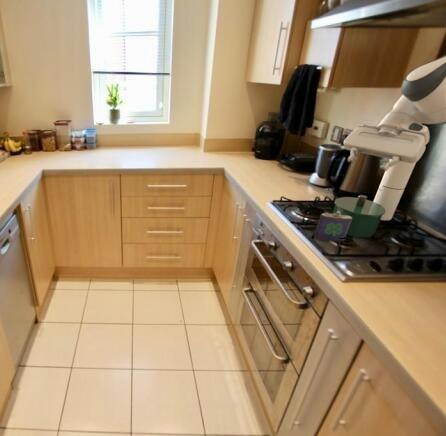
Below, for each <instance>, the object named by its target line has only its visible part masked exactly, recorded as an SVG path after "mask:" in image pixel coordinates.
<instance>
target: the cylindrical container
mask: <svg viewBox="0 0 446 436" xmlns="http://www.w3.org/2000/svg"><path fill="white" fill-rule="evenodd" d="M391 160H392V159H389V161H391ZM416 163H417V162H415V163H406V162H402V161H400V162H399V163H398V164H396V165H394V166H392V167H390V168H389V169H388V170H387V171H384V173H383V176H382V179H381V181H380V184H379V186H378V189H377V192H376V194H375V196H374V199H373V201H372V202H375V203H377V204H379V205H381V206H382V207H384V208H385V213H384V214H383V215H382V217H381V219H380V221H390V220H392V218H393V216H394V215H395V212H396V209H397V207H398V206H399V203H400V200H401V198H402V196H403V194H404V191H405V188H406V187H407V184H408V182H409V179H410V177H411V175H412V173H413V170H414V168H415V166H416Z"/></svg>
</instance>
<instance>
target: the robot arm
mask: <svg viewBox="0 0 446 436" xmlns="http://www.w3.org/2000/svg"><path fill="white" fill-rule="evenodd" d="M400 93H401V94H402V95H400V97H399V98H398V100H396V102H395V103H394V105H393V107H392V109H391V110H390V111H389V112H387V114H385V115H384V117H383V118H382V119H381V120H380V122H379V123H378V125H376V126H375V125H368V124H362V125H359V126H356V127H354V129H353V130H352V132H350V133H349V134H348V135H347V136H346V138H345V139H344V140H343V143H342V144H343V147H344V149H345V150H347V151H350V154H349V156H348V157H347V162H348V163H351V164H354V163H355V162H356V160H357V154H358V153H360V154H366V155H370V156H374V157H379V158H384V159H388V160H389V161H388V162H383V163H382V164H381V165H380V170H381V171H384V172H385V171H387V170H388V169H389V168H390V167H392V166H394V165H396V164H398V163H399V162H400V161H402V162H406V163H415V162H416V163H417V162H418V161H419V160H420V159H421V158H422V156H423V155H424V153H425V151H426V149H427V148H426V145H427V144H428V143H429V142H430V130H429V127H428V126H426V125H445V124H446V54H444V55H442V56H439V57H438V58H435V59H433V60H430V61H428V62H426V63H424V64H422V65H419V66H417V67H416V68H415V69H413V70H411V71H410V72H409V73H408V74H406V76H405V78H404V80H403V82H402V84H401V89H400ZM423 124H424V125H423ZM390 159H392V160H391V161H390Z"/></svg>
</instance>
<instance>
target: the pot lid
mask: <svg viewBox="0 0 446 436" xmlns="http://www.w3.org/2000/svg"><path fill="white" fill-rule="evenodd" d="M334 204H336V206H338V207H339V208H341V209H343V210H345V211H347V212H350V213H354V214H358V215H364V216H380V215H383V214H384V213H385V208H384V207H382V206H381V205H379V204H377V203H375V202H373V201H372V200H369V199H368V196H366V195H365V194H364V195H363V194H359V195H358V196H357V197H352V196H342V197H338V198H336V199H335V200H334Z"/></svg>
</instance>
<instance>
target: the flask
mask: <svg viewBox="0 0 446 436" xmlns="http://www.w3.org/2000/svg"><path fill="white" fill-rule="evenodd" d="M341 214H342V213H341ZM351 220H352V217H350V216H347V215H340V211H337V213H334V214H332V213H329V212H324V213H321V214H320V215H319V218H318V223H317V226H316V229H315V231H314V235H313V237H314V239H316V240H320V241H326V242H339V243H342V242H344V241H345V240H346V237H347V235H346V234H347V231H348V229H349V226H350V223H351ZM344 237H345V239H338V238H344Z"/></svg>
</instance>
